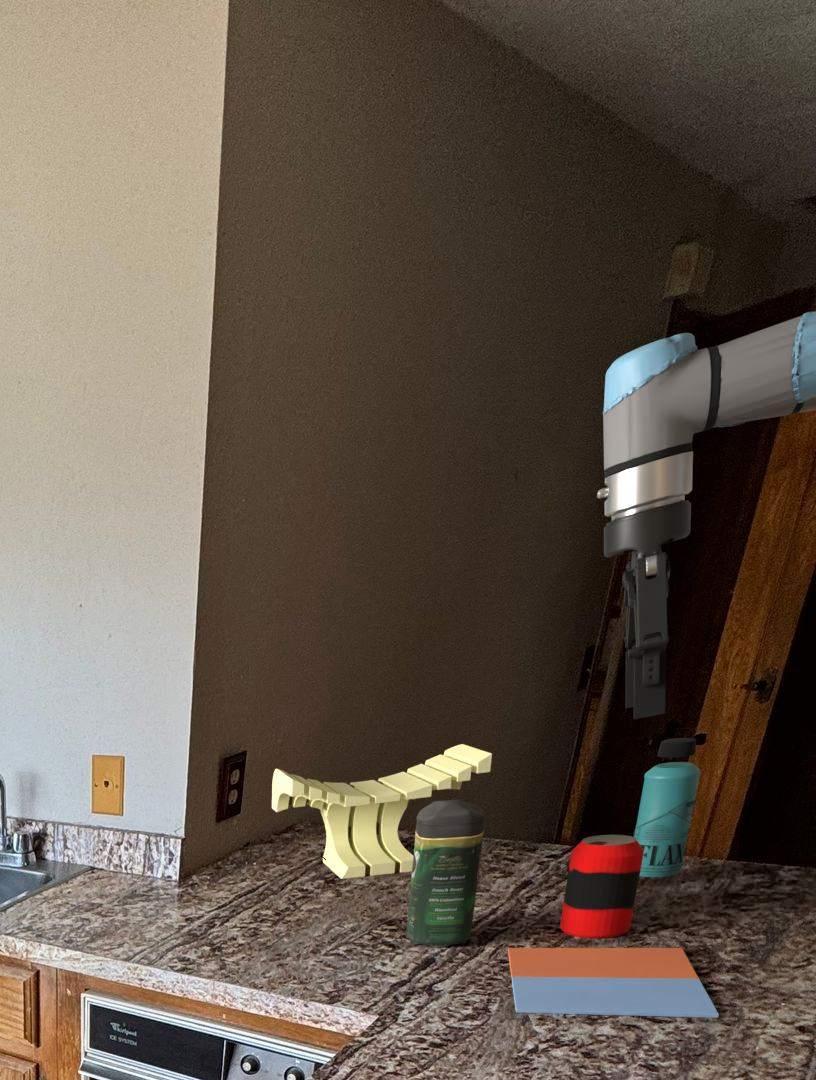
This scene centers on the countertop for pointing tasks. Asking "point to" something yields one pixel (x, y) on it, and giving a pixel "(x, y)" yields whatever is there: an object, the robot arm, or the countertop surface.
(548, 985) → the sorting mat
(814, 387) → the robot arm
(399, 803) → the slatted curved stool
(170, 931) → the countertop surface
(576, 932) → the soda can
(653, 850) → the teal pump bottle
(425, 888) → the coffee jar
